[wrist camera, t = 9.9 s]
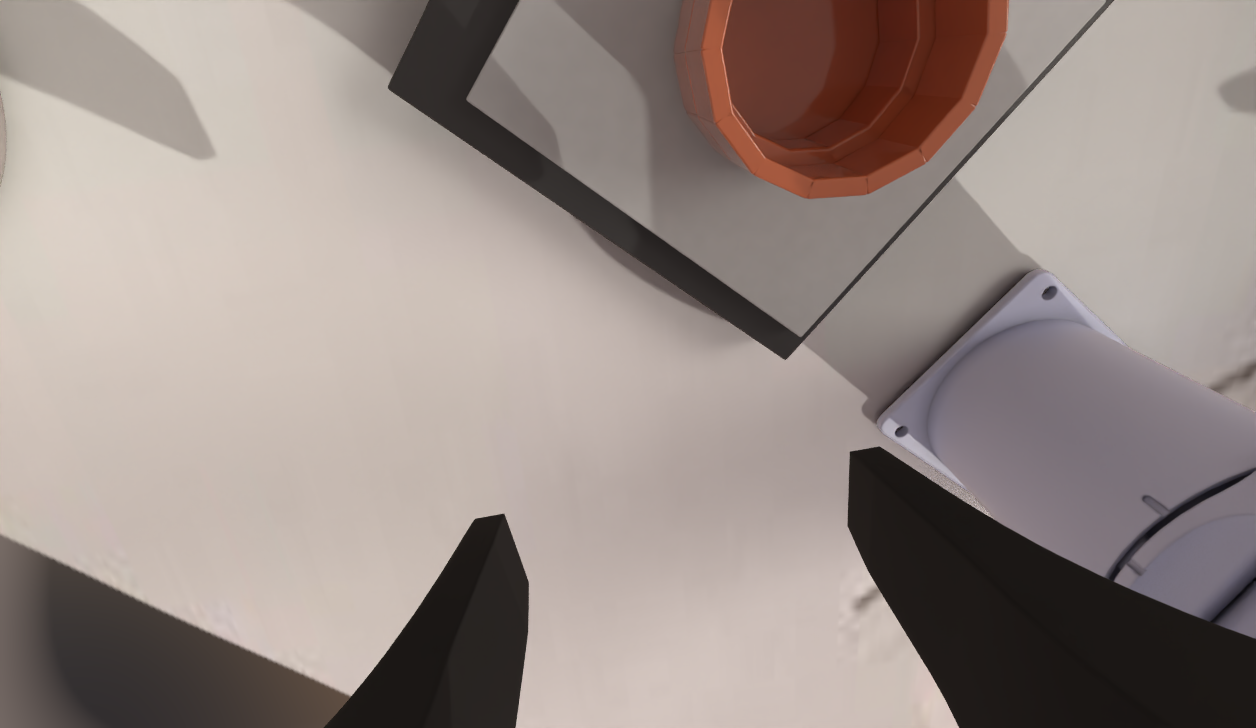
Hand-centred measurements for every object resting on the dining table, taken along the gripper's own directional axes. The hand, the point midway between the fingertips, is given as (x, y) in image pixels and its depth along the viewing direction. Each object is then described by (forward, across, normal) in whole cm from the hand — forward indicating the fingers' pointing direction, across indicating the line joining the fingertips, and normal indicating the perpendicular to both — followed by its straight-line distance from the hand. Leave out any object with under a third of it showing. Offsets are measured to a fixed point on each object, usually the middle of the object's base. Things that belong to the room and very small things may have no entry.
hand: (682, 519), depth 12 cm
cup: (+7, -5, -8) cm, 11 cm away
